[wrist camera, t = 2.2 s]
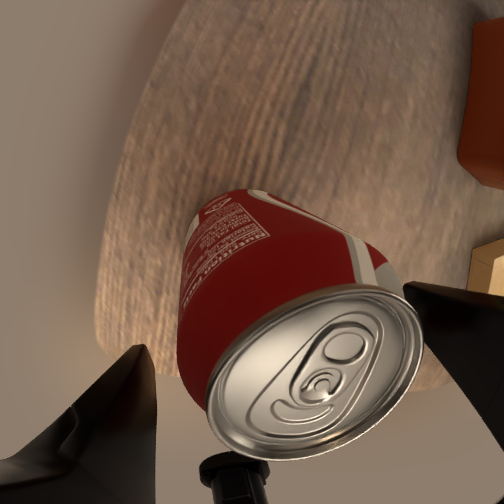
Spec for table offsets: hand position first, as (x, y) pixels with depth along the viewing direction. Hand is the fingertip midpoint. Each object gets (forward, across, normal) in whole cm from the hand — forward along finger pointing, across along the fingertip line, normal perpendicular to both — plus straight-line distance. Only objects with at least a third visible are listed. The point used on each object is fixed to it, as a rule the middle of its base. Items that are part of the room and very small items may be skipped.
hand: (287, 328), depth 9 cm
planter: (+9, -32, -13) cm, 36 cm away
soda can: (+9, 0, 0) cm, 9 cm away
